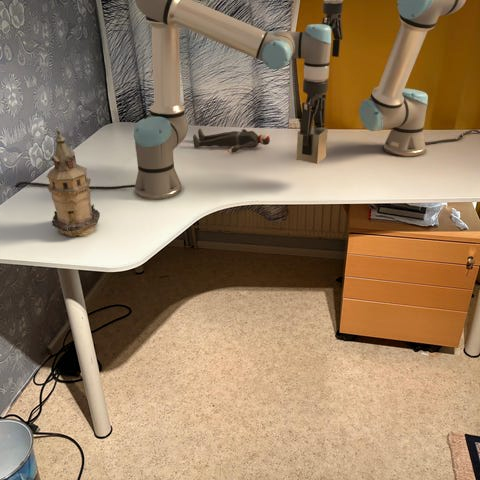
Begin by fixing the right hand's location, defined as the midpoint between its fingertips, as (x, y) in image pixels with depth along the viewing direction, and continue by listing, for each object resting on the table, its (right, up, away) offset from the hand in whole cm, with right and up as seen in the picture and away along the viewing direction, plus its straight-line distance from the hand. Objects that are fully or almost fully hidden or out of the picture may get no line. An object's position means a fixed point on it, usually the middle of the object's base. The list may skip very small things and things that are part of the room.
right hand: (329, 59), depth 217 cm
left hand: (-13, -44, -42) cm, 62 cm away
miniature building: (-83, -70, -61) cm, 124 cm away
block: (-13, -46, -41) cm, 63 cm away
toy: (-39, -35, -1) cm, 53 cm away
